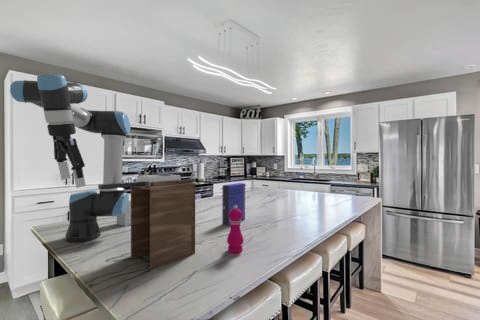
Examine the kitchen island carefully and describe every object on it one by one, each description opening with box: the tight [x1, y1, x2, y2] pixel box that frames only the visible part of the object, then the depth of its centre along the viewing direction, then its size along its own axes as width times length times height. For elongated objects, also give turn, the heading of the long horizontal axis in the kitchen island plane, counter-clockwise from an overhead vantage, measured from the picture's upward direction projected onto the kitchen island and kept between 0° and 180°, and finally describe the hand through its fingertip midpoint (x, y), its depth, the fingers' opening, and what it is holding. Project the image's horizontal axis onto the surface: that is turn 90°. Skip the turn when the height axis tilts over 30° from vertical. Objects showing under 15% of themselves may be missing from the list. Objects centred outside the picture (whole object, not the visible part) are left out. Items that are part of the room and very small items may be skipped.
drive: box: [98, 172, 182, 190], centre depth 96 cm, size 10×30×4 cm, turn 138°
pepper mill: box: [226, 205, 244, 254], centre depth 109 cm, size 7×7×20 cm
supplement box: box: [116, 197, 131, 227], centre depth 150 cm, size 9×9×15 cm
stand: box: [130, 178, 196, 270], centre depth 103 cm, size 17×20×32 cm
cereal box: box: [221, 182, 246, 226], centre depth 156 cm, size 17×5×24 cm, turn 144°
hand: (73, 182), depth 88 cm, fingers open, 13 cm apart
